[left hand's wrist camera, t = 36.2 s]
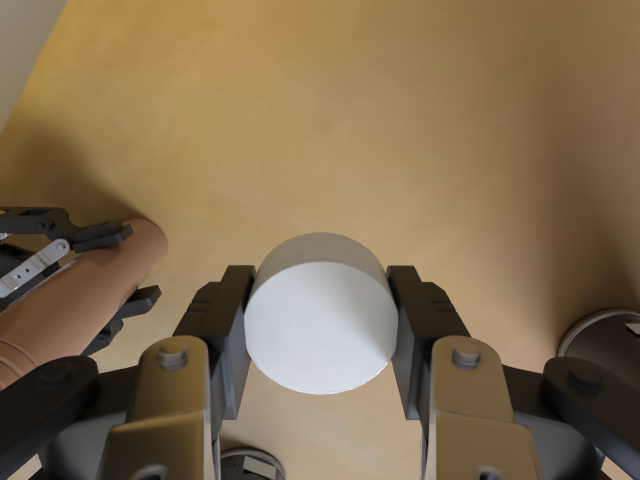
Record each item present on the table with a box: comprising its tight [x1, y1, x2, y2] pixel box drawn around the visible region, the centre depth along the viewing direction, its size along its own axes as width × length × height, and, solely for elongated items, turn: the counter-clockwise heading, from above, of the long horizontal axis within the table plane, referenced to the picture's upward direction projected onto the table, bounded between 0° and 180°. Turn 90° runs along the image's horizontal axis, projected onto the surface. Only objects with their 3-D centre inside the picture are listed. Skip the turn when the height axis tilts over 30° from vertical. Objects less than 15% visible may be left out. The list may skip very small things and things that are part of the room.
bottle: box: [0, 218, 168, 391], centre depth 26 cm, size 5×5×24 cm
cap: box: [244, 233, 399, 394], centre depth 11 cm, size 4×4×2 cm
